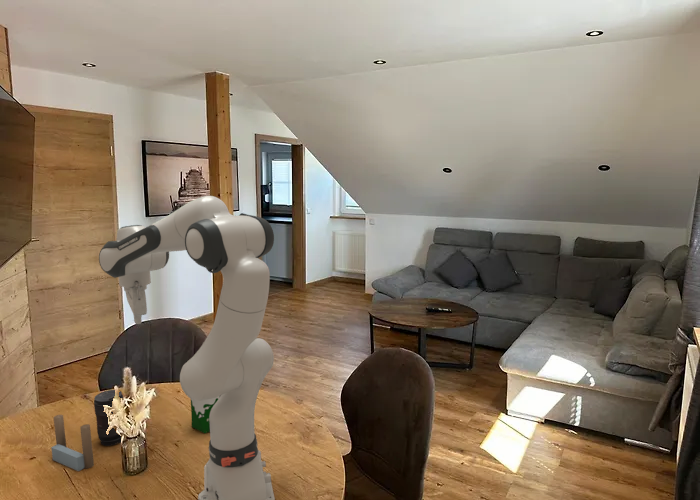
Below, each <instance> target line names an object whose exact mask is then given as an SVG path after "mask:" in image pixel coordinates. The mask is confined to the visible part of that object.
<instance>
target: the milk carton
mask: <svg viewBox="0 0 700 500" xmlns="http://www.w3.org/2000/svg"><path fill="white" fill-rule="evenodd" d="M219 398H220V396H218V397H216V398H211V399H207V400H201V401H194V400H192V399H191V398H189V399H190V413H191V428H193V429H195V430H197V431H198V432H200V433H203V434H208V433H210V421H209V416H210V412H211V409H212V407H213V406H214V404H215V403H216V402H217V401H218V399H219Z"/></svg>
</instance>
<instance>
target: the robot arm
mask: <svg viewBox="0 0 700 500" xmlns="http://www.w3.org/2000/svg"><path fill="white" fill-rule="evenodd" d="M274 234H275V233H274V230H273V227H272V225H271V224H270V222H269V221H267V220H266V219H265V218H263V217H260V216H257V215H252V214H247V213H244V212H241V213H240V214H239V215H233V214H232V213H230V211H229V209H228V206H227V205H226V203H225V202H224V201H223V200H222V199H220V198H218V197H216V196H215V195H214V196H213V195H205V196H202V197H201V196H200V197H198V198H195V199H194V200H193V199H192V200H191V201H188V202H187V203H185V204H183V205H182V206H181V207H178V208H177V209H176V210H174V211H172V212H171V213H170V214H169V215H166V216H165V217H163V218H162V219H159V220H157V221H155V222H154V223H152V224H150V225H148V226H144V225H141V224H133V225H125V226H121V227H119V228H118V229H117V232H116V240H110V241H107V242H106V243H105V244H104V245H103V246H102V248H101V249H100V250H99V255H98V262H99V263H98V264H99V266H100V268H101V270H102V271H103V272H105V273H106V274H107V275H109V276H111V277H112V278H114V279H116V278H118V285H119V287H122V288H123V292H125V296H126V300H127V304H128V305H129V307H130V311H131V312H132V314H133V321H134V323H135V324H134V325H141V324H142V322H143V321H142V318H143V317H142V316H145V315H147V314H148V307H147V296H146V290H147V288H148V287H147V286H148V285H150V284H151V283H152V281H151V279H152V277H151V272H153V271H157V270H161V269H164V268H165V267H166V265H167V264H168V262H169V259H170V252H181V251H186V253H187V255H188V257H190V259H191V260H193V262H195V263H196V264H197V265H199V266H201V267H203V268H205V269H206V271H208V273H212V274H216V273H217V274H218V273H219V272H221V274H222V287H221V290H220V291H221V292H220V295H219V300H218V305H217V311H216V313H215V318H214V322H213V325H212V327H211V329H210V332H209V333H208V335H207V337H206V338H205V340H204V341H203V342H202V345H200V347H199V348H198V350H197V351H196V352H195V354H194V355H193V356H192V357H190V358H189V360H187V362H185V363H184V364H183V365H182V367H181V370H180V372H179V373H180V374H179V384H180V387H181V389H182V391H183V393H184V394H185V395H186V396H187V397H188V398H189V399H190V398H191V399H192V400H194V401H201V400H207V399H211V398H216V397H218V396H220V395H221V396H220V398H219V399H218V401H217V402H216V403H215V404H214V406H213V407H212V409H211V412H210V416H209V421H210V432H209V437H210V440H209V442H208V452H209V453H208V454H209V459H208V461H207V462H206V464H205V465H204V468H203V472H204V473H203V477H204V478H203V481H204V482H203V483H204V484H203V485H204V486H203V487H204V489H203V490H202V491H201V492H199V494H198V495H197V496H198V498H197V500H275V499H276V498H275V494H274V490H273V484H272V476H271V472H266V471H264V469H263V468H265V467H267V466H266V465H267V463H266V461H265V460H262V450H259V448H258V439H257V435H256V433H255V408H256V403H257V399H258V396H259V392H260V389H261V386H262V383H263V382H264V380H265V378H266V376H267V375H268V373H270V371H271V370H272V368H273V366H274V362H275V359H274V351H273V348H272V347H271V345H270V344H269V343H268V342H267V341H266V340H265V339H263V338H260V337H259V334H260V332H262V331H261V330H262V326H263V322H264V318H265V312H266V308H267V305H268V298H269V291H270V277H271V276H270V274H271V273H270V268H269V266H268V265H267V263H266V262H265V261H264V260H262V259H260V258H262V257H263V256H266V255H267V254H269V252H270V251H271V250H272V249H273V246H274V243H275V242H274V241H275V235H274ZM191 399H190V400H191Z"/></svg>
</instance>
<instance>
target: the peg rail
mask: <svg viewBox="0 0 700 500" xmlns="http://www.w3.org/2000/svg"><path fill="white" fill-rule="evenodd" d="M53 423H54V424H53V425H54V433H55V443H56V444H55V445H53V446H51V447H50V448H51V457H52V458H51V459H52V461H55V462H56V463H59V464H60V465H63V466H66V467H67V468H70V469H71V470H75V471H76V472H80V471H81V470H83V469H91V468H92V467H94V465H95V463H94V454H93V443H92V441H93V440H92V433H91V432H92V431H91V430H92V429H91V424H90V423H89V424H83V425H81V426H80V437H81V438H80V439H81V445H82V446H81V447H82V452H79V451H77V450H74V449H72V448H69V447H68V446H67V441H66V439H67V438H66V431H65V430H66V429H65V421H64V415H63V414H57V415H55V416H53Z"/></svg>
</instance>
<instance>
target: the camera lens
mask: <svg viewBox="0 0 700 500" xmlns="http://www.w3.org/2000/svg"><path fill="white" fill-rule="evenodd" d="M115 390H116V389H109V390H104V391H102V392H100V393H97V394H96V395H95V396H94V399H93V406H94V408H93V409H94V414H95V418H96V430H97V437H98V440H99V441H100V445H101V446H109V447H110V446H114V445H117V444H120V443H121V436H120V435H118V434H117V433H116V431H115V429H114V428H112V429H111V430H110V431H109V434H108V435H107V434H106V431H107V429H108V427H109V425H108V417H107V414H106V413H105V412H103V411H104V407H103V405H108V406H110V407H112V401H113V398H114V396H115ZM119 391H120V392H119V397H120V398H123V399H124V395H123V393H122V391H121V390H119ZM111 413H112V414H113V412H111Z"/></svg>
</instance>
